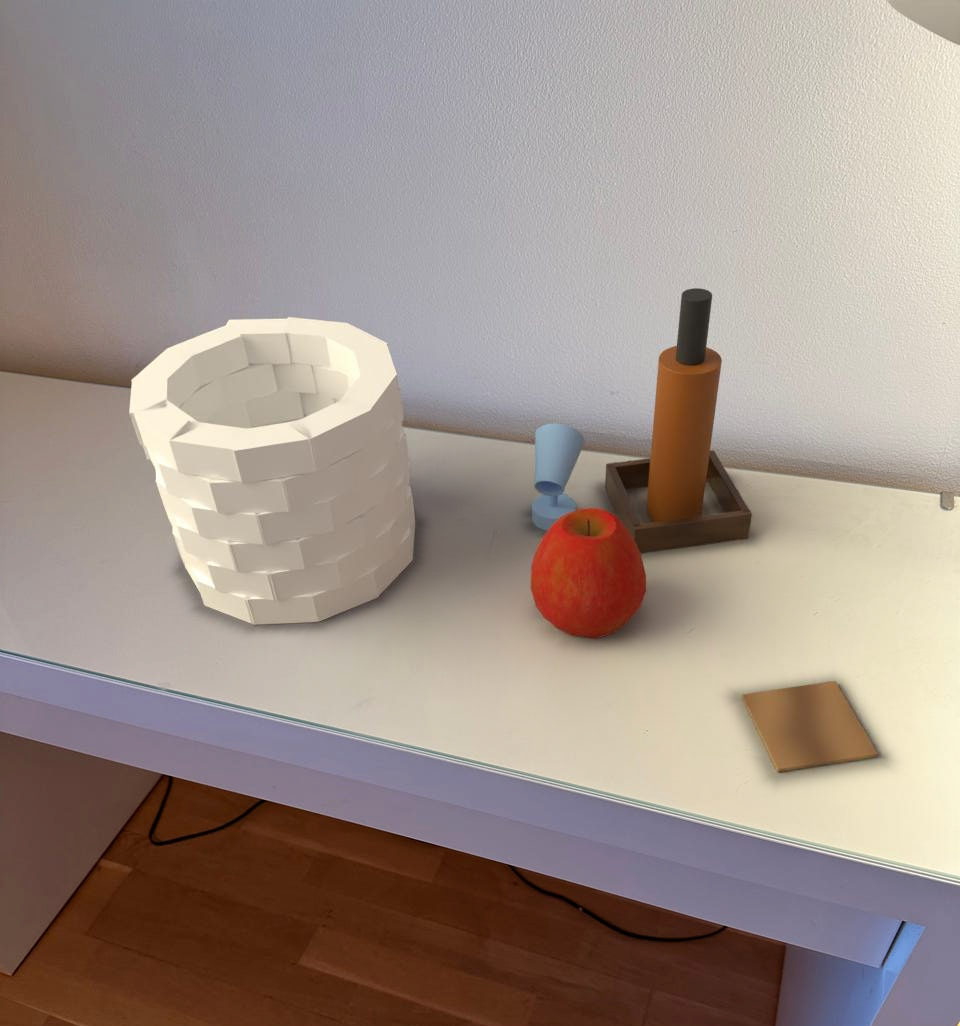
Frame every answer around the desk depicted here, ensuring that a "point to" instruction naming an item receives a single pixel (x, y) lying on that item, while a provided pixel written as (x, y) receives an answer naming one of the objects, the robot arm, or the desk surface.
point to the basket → (280, 465)
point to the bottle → (684, 415)
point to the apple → (588, 574)
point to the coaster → (808, 726)
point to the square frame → (686, 529)
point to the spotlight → (554, 472)
